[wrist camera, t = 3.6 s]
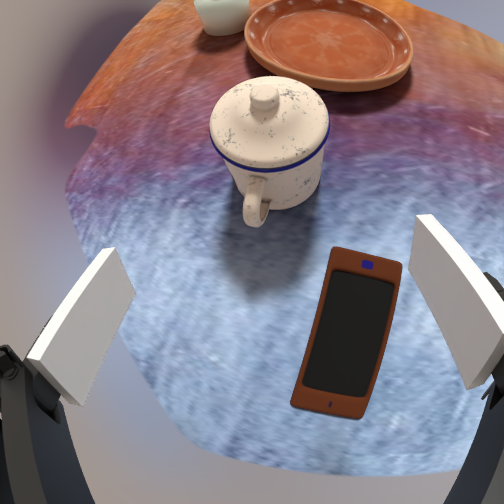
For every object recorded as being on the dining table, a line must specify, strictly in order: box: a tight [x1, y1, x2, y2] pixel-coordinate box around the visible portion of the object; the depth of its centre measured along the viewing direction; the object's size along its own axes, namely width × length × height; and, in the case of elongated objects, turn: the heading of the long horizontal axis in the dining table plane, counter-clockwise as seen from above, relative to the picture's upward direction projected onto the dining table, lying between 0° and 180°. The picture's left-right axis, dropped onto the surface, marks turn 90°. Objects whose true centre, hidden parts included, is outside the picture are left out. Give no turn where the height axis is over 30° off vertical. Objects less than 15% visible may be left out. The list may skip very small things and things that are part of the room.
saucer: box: [244, 0, 413, 92], centre depth 30 cm, size 23×23×4 cm
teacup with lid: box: [209, 76, 330, 227], centre depth 22 cm, size 12×9×12 cm
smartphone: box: [290, 247, 402, 419], centre depth 24 cm, size 7×1×15 cm
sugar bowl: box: [194, 0, 252, 36], centre depth 32 cm, size 8×8×7 cm
